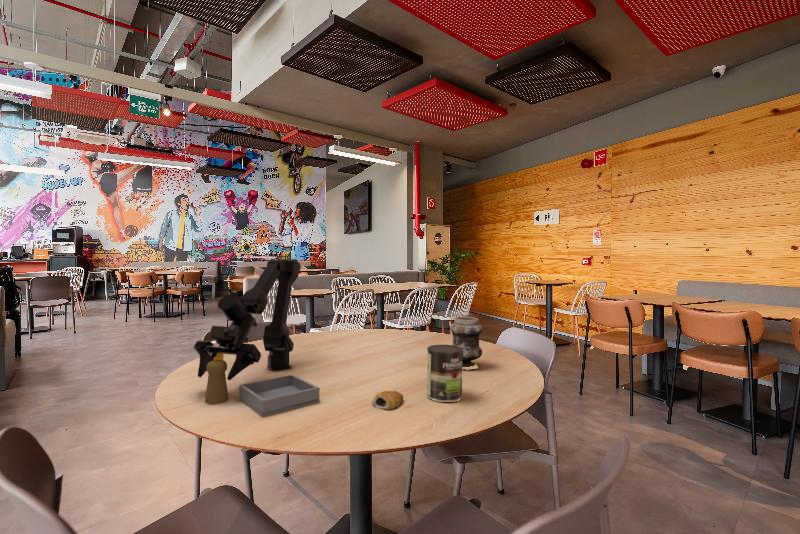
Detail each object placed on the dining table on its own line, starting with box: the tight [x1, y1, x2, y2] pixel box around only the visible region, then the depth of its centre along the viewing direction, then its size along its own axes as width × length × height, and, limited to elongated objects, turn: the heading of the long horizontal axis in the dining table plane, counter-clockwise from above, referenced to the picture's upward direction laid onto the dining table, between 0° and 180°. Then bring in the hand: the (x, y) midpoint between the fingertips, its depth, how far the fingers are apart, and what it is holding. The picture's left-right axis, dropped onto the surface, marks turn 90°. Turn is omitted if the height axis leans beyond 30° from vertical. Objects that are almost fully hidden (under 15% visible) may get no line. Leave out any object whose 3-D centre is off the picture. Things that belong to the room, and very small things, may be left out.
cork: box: [204, 359, 230, 405], centre depth 112 cm, size 6×6×11 cm
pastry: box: [371, 390, 404, 411], centre depth 111 cm, size 9×7×4 cm
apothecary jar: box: [449, 316, 484, 367], centre depth 148 cm, size 12×12×18 cm
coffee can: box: [426, 344, 463, 403], centre depth 117 cm, size 10×10×14 cm
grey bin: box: [238, 373, 320, 418], centre depth 112 cm, size 16×16×4 cm
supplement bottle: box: [210, 340, 224, 361], centre depth 141 cm, size 5×5×10 cm
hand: (213, 378), depth 110 cm, fingers open, 9 cm apart
